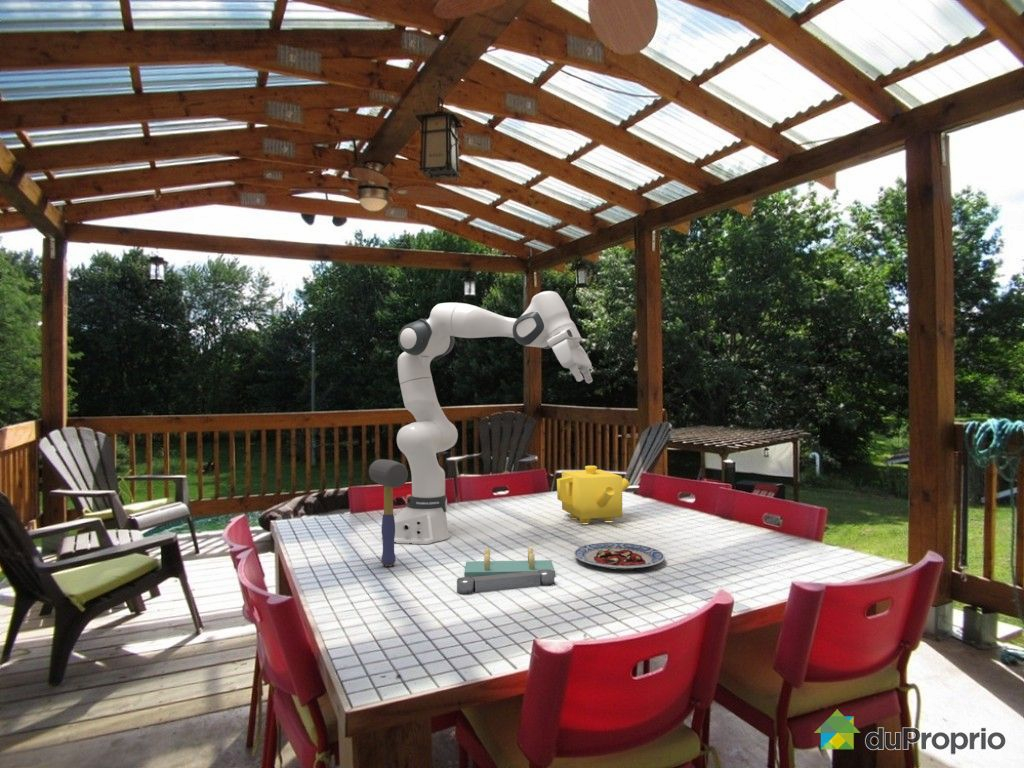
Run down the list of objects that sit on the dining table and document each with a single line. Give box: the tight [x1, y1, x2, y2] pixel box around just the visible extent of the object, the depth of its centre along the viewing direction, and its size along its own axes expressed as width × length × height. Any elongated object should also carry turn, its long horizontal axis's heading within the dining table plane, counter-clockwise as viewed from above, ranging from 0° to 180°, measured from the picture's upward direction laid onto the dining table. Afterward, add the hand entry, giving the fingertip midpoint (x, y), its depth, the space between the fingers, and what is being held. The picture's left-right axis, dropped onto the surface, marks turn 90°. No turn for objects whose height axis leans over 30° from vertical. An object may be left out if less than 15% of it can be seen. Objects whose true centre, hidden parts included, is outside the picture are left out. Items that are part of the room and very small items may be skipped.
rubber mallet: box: [368, 458, 409, 567], centre depth 174 cm, size 12×8×30 cm, turn 37°
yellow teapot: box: [556, 465, 631, 524], centre depth 233 cm, size 35×29×20 cm
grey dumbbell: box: [456, 569, 555, 596], centre depth 155 cm, size 25×4×3 cm, turn 107°
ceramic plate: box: [573, 542, 665, 570], centre depth 178 cm, size 26×26×3 cm
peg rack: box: [463, 547, 556, 578], centre depth 168 cm, size 24×10×6 cm, turn 92°
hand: (585, 381), depth 178 cm, fingers open, 8 cm apart
